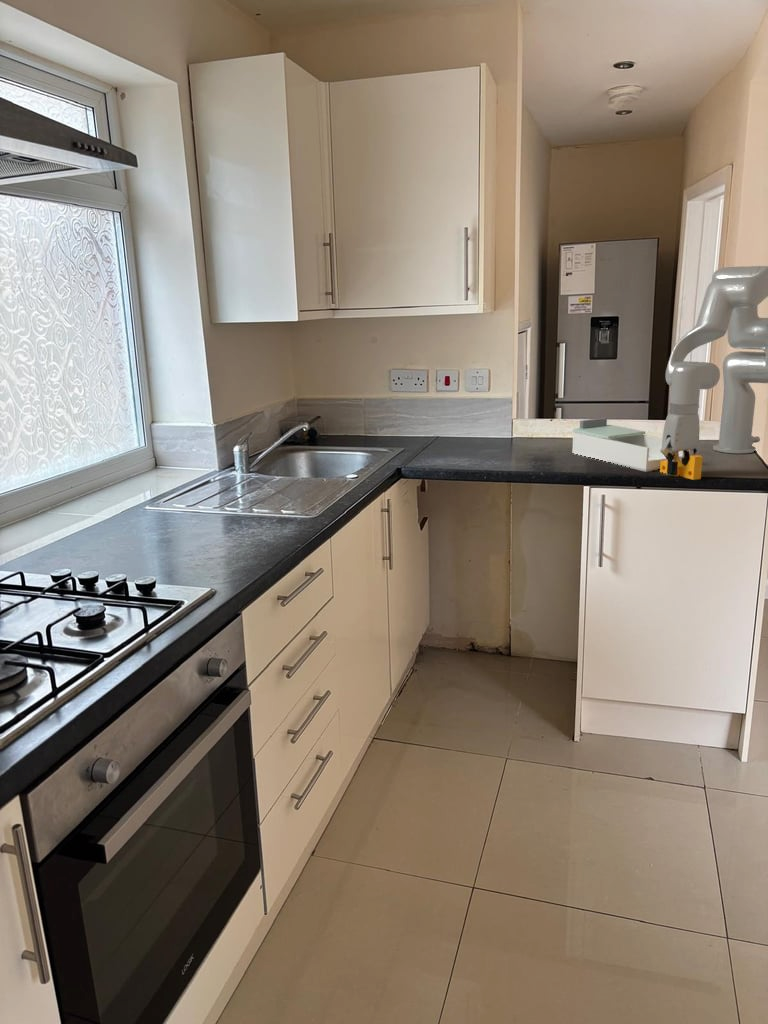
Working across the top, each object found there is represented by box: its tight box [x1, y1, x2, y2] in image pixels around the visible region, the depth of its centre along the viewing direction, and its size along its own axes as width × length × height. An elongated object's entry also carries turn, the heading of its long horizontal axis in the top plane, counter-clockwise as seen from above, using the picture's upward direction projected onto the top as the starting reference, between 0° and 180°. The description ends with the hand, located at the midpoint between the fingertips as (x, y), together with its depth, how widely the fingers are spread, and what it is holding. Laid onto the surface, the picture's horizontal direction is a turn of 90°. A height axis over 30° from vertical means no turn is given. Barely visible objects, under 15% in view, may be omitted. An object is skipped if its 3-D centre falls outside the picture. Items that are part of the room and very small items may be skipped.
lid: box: [572, 417, 646, 439], centre depth 249 cm, size 15×16×3 cm
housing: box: [571, 431, 684, 473], centre depth 244 cm, size 15×32×7 cm, turn 27°
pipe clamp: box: [659, 452, 704, 481], centre depth 222 cm, size 12×4×6 cm, turn 19°
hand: (678, 472), depth 223 cm, fingers closed on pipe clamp, 4 cm apart
